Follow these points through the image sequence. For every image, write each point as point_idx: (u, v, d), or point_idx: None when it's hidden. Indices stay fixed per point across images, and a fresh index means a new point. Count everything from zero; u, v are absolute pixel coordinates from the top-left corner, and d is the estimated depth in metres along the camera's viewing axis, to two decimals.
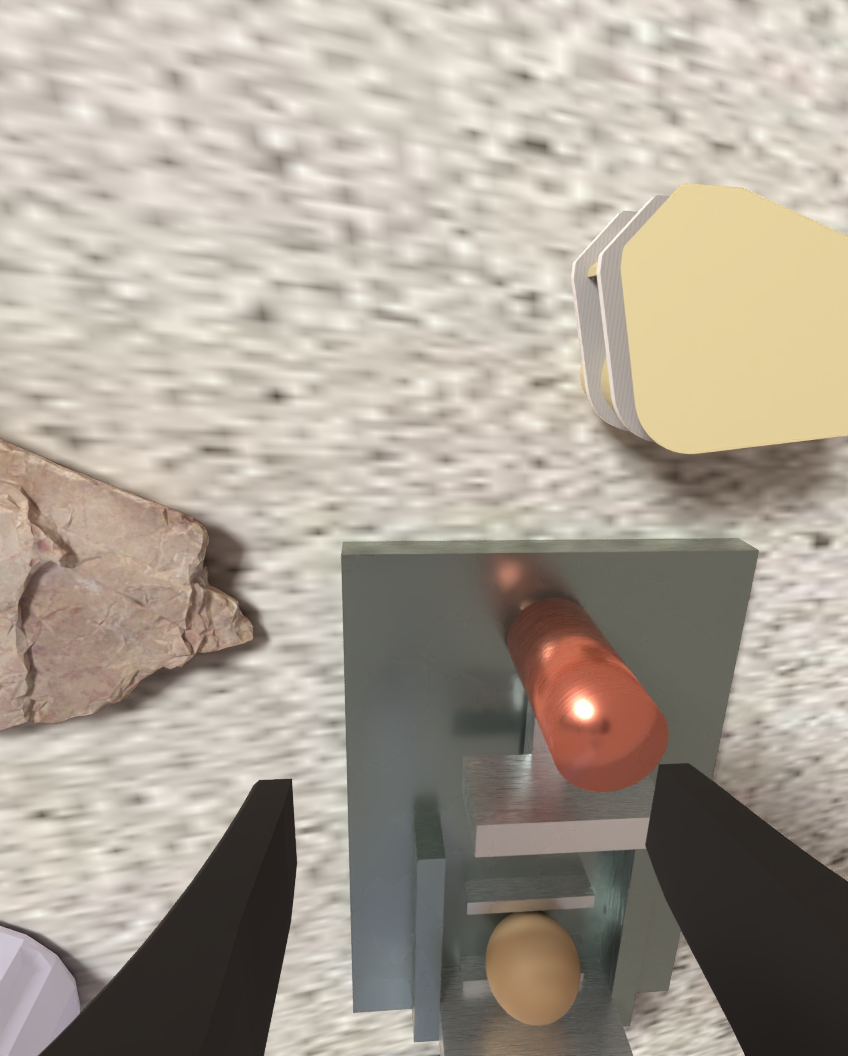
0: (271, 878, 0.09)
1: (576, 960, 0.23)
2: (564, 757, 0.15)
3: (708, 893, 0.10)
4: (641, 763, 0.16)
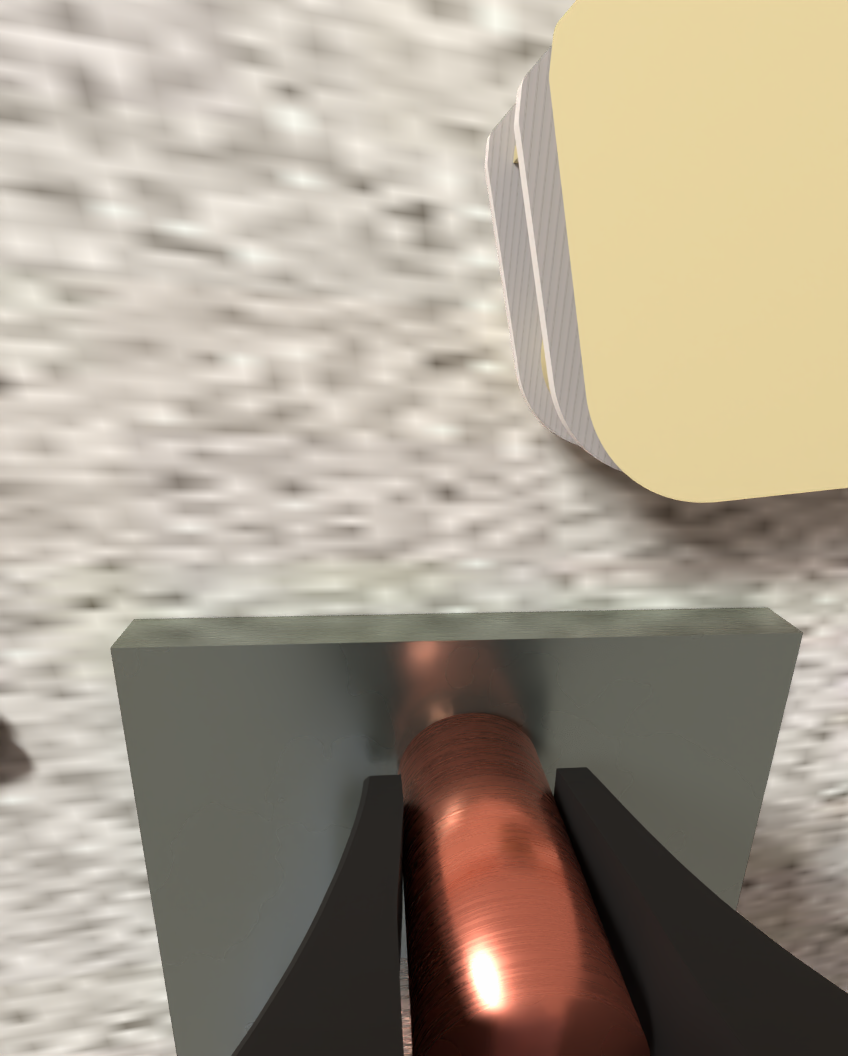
0: (401, 871, 0.10)
1: None
2: None
3: None
4: None
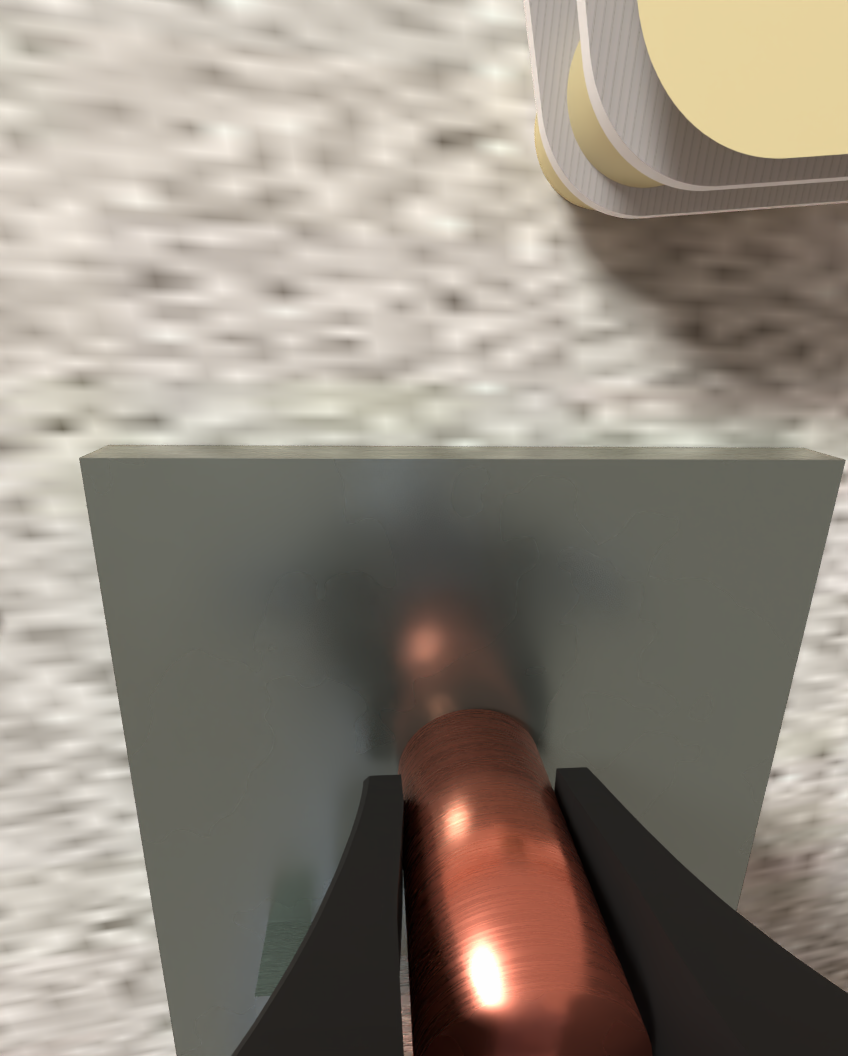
0: (401, 871, 0.10)
1: None
2: None
3: None
4: None
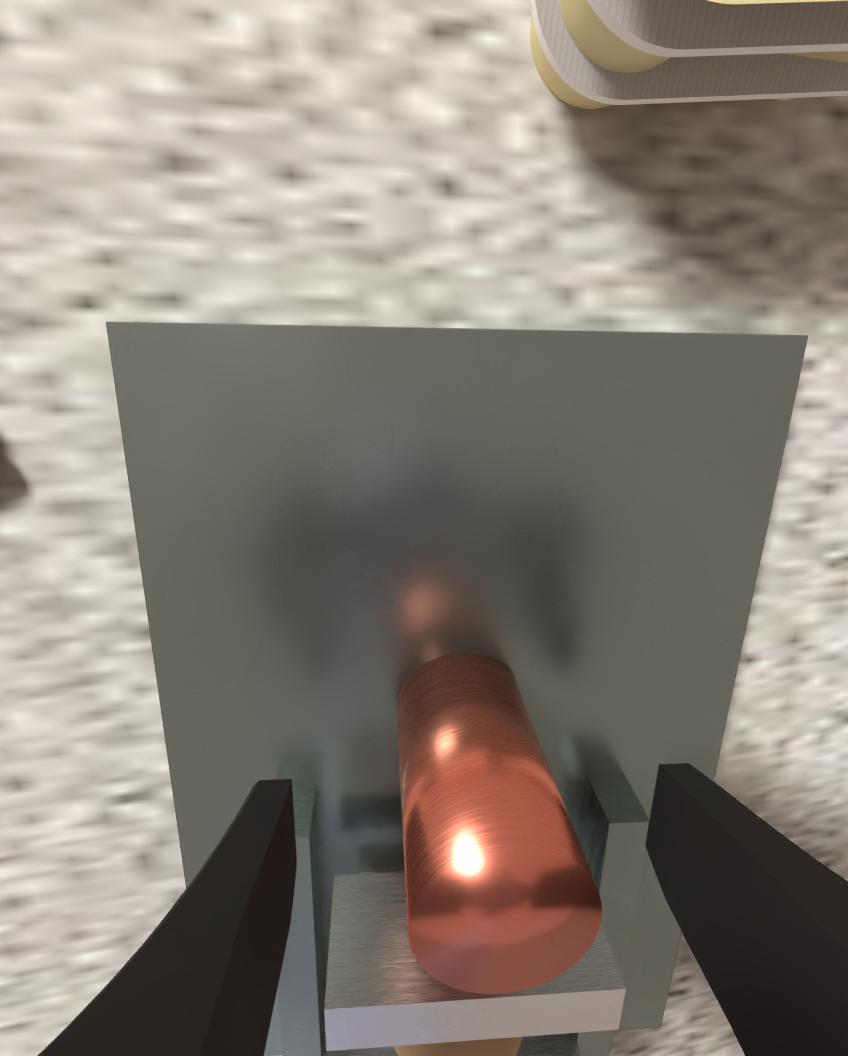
0: (271, 878, 0.09)
1: None
2: (429, 946, 0.09)
3: (709, 893, 0.10)
4: (559, 951, 0.09)
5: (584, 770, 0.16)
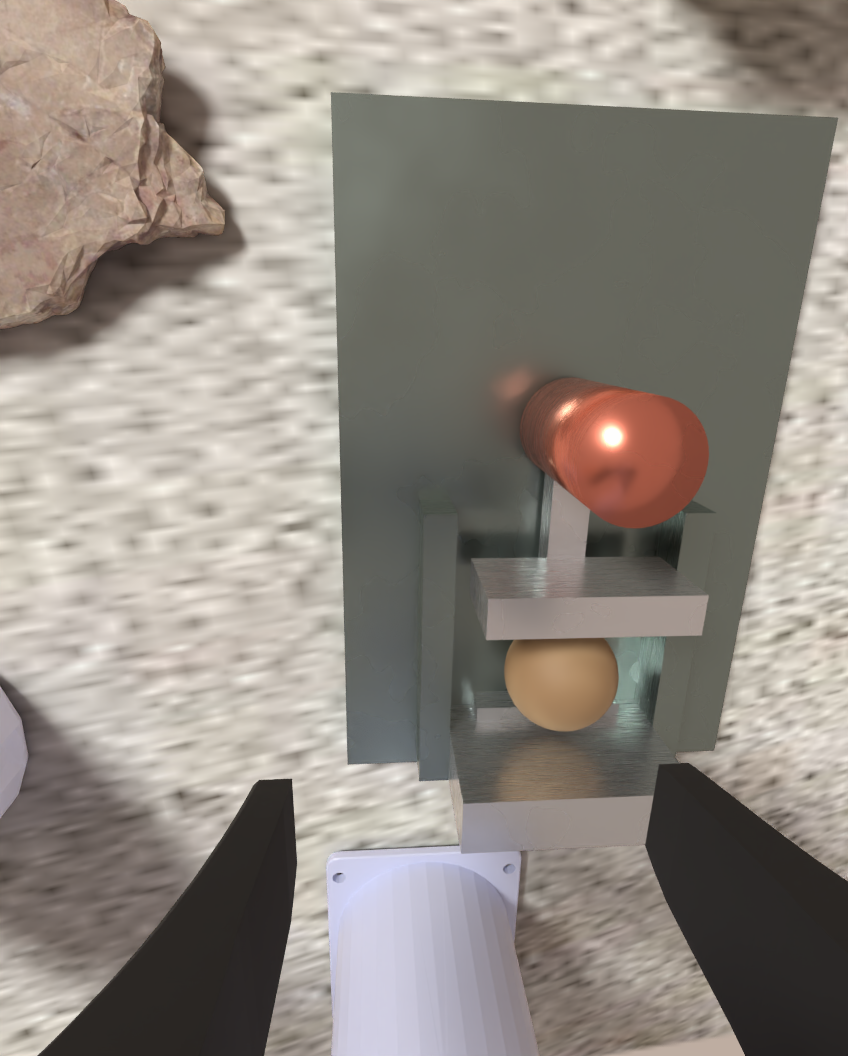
0: (271, 878, 0.09)
1: (613, 656, 0.19)
2: (590, 479, 0.13)
3: (708, 893, 0.10)
4: (677, 491, 0.14)
5: None
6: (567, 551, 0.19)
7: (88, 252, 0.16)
